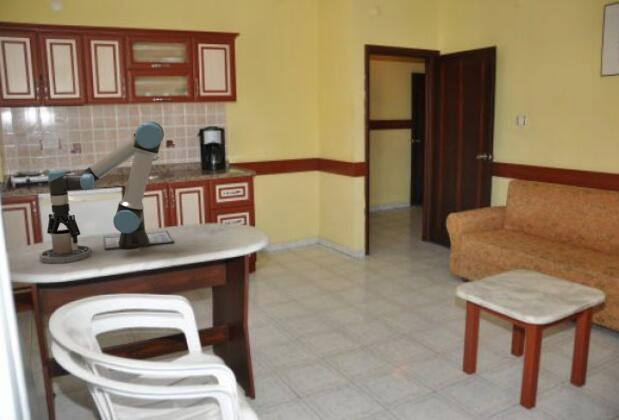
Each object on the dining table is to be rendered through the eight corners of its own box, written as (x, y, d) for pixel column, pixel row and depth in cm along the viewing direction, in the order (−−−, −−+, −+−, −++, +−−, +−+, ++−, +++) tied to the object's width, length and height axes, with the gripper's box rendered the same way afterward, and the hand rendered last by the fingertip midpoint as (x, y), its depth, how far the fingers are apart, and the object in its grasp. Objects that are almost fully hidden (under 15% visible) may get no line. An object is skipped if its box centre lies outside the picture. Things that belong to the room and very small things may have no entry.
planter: (68, 254, 242) (66, 234, 240) (48, 253, 244) (45, 233, 242) (82, 248, 252) (80, 229, 250) (63, 247, 254) (60, 228, 253)
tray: (101, 252, 255) (100, 247, 254) (65, 265, 235) (65, 260, 234) (66, 248, 263) (66, 243, 262) (29, 261, 243) (29, 255, 242)
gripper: (85, 203, 243) (90, 248, 247) (48, 201, 251) (53, 245, 256) (73, 206, 236) (78, 253, 240) (34, 203, 244) (40, 249, 249)
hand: (65, 248), depth 248 cm, fingers closed on planter, 11 cm apart
